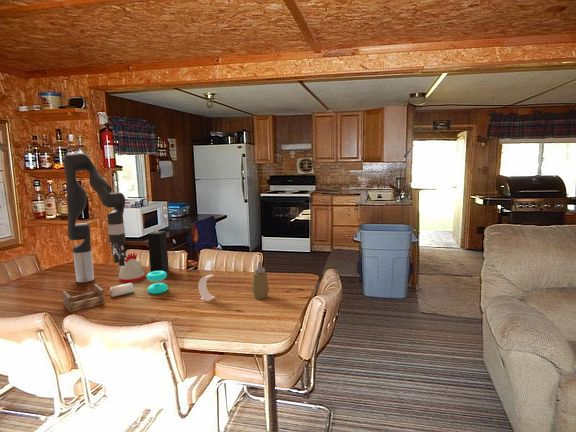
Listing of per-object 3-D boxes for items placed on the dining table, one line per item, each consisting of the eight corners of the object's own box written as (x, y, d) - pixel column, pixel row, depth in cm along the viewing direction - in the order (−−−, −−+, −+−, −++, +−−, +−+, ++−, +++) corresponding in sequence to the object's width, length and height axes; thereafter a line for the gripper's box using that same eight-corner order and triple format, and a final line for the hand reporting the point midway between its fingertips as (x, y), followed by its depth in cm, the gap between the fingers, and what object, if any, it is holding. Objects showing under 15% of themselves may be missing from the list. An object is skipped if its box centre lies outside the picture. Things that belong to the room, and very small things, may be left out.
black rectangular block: (162, 274, 225) (159, 228, 221) (150, 273, 227) (146, 228, 223) (169, 270, 233) (165, 225, 229) (157, 269, 234) (154, 225, 230)
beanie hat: (149, 277, 220) (147, 252, 218) (129, 283, 209) (126, 257, 206) (135, 273, 228) (133, 249, 225) (114, 280, 216) (111, 254, 214)
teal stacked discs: (170, 272, 193) (152, 276, 186) (171, 290, 195) (153, 296, 188) (160, 268, 200) (142, 273, 193) (162, 286, 202) (144, 291, 194)
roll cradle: (69, 312, 169) (67, 297, 168) (64, 305, 178) (62, 291, 177) (104, 303, 179) (103, 289, 178) (97, 297, 188) (96, 283, 187)
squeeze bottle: (271, 295, 185) (270, 259, 182) (265, 301, 177) (264, 264, 175) (256, 293, 187) (255, 258, 185) (249, 299, 180) (248, 263, 177)
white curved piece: (208, 301, 179) (206, 277, 177) (199, 299, 182) (197, 275, 180) (214, 298, 182) (213, 274, 181) (205, 296, 186) (204, 272, 184)
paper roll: (112, 298, 186) (111, 289, 185) (109, 295, 190) (108, 286, 189) (135, 293, 193) (134, 284, 192) (131, 290, 197) (131, 281, 196)
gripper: (104, 231, 190) (107, 263, 192) (113, 235, 179) (116, 268, 182) (120, 229, 195) (122, 260, 197) (129, 233, 184) (132, 265, 186)
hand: (119, 264), depth 189 cm, fingers open, 8 cm apart
